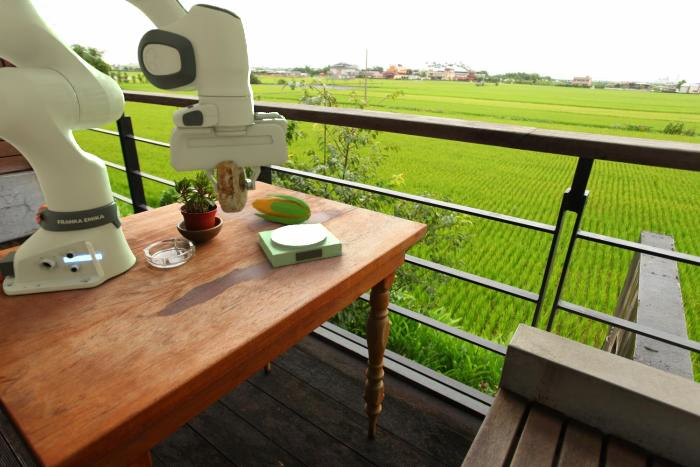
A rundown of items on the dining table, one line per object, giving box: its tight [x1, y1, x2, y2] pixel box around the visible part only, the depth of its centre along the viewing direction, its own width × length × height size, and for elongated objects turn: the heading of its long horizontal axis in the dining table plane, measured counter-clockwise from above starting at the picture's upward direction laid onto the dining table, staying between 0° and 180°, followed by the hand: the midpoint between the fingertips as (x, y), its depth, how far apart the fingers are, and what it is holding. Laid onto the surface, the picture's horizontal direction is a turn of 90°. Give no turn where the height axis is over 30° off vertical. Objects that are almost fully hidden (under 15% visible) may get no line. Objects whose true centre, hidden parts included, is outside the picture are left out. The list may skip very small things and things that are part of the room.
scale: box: [257, 222, 343, 268], centre depth 91 cm, size 16×14×4 cm
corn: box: [251, 193, 312, 226], centre depth 109 cm, size 7×8×20 cm
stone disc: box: [216, 161, 249, 214], centre depth 71 cm, size 10×4×10 cm, turn 0°
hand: (234, 191), depth 72 cm, fingers closed on stone disc, 4 cm apart
